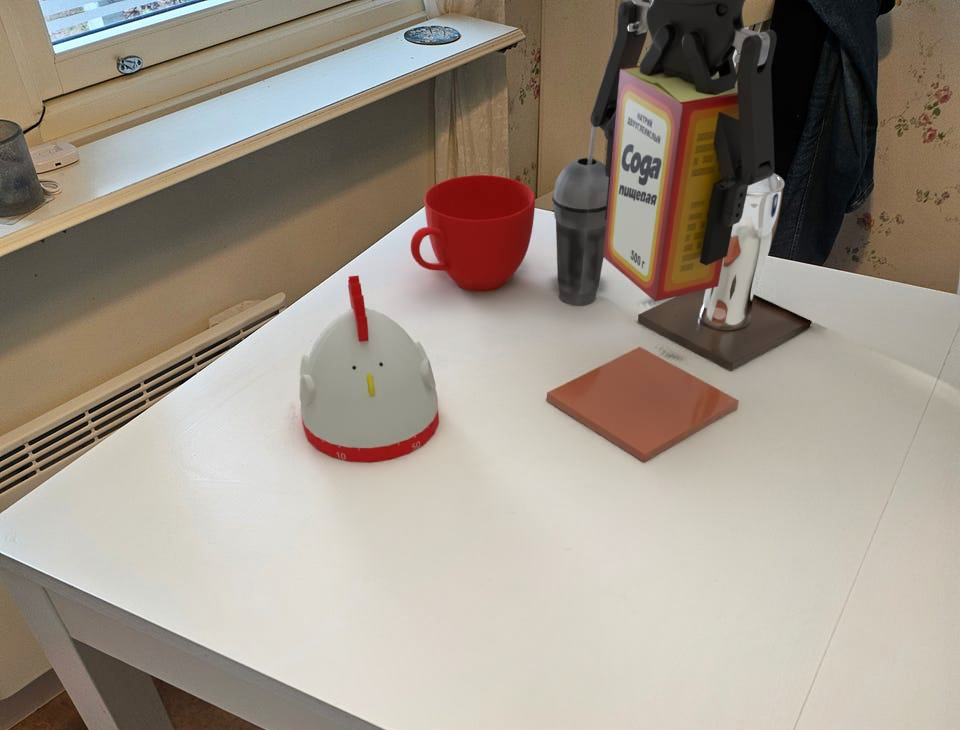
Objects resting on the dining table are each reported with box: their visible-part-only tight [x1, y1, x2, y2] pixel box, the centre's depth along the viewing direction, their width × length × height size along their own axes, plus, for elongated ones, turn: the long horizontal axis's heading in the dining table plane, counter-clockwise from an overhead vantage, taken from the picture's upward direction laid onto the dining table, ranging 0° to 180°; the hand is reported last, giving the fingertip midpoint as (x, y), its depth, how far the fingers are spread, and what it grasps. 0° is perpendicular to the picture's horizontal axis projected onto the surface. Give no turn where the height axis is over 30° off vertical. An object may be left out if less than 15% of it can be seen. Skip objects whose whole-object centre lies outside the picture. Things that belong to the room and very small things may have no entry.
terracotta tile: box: [545, 346, 740, 463], centre depth 93 cm, size 14×14×1 cm
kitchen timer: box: [299, 275, 440, 463], centre depth 87 cm, size 14×14×15 cm
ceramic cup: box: [410, 174, 536, 293], centre depth 108 cm, size 13×17×10 cm
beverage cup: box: [551, 124, 609, 307], centre depth 102 cm, size 7×7×20 cm
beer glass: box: [698, 172, 785, 330], centre depth 98 cm, size 7×7×15 cm
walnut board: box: [636, 290, 812, 372], centre depth 104 cm, size 14×14×1 cm
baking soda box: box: [603, 65, 739, 302], centre depth 77 cm, size 10×6×16 cm
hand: (663, 237), depth 81 cm, fingers closed on baking soda box, 11 cm apart
